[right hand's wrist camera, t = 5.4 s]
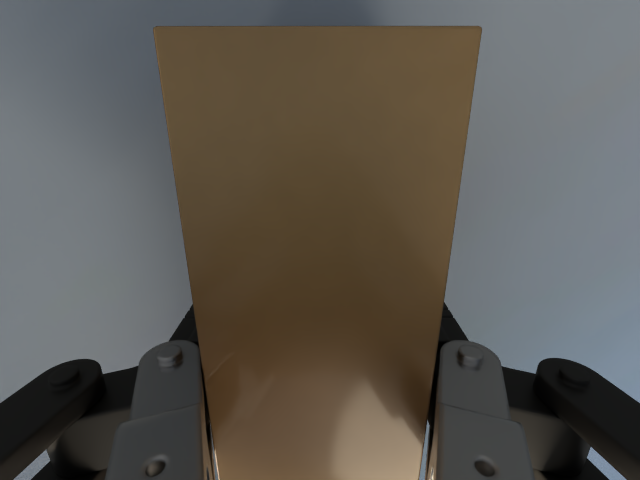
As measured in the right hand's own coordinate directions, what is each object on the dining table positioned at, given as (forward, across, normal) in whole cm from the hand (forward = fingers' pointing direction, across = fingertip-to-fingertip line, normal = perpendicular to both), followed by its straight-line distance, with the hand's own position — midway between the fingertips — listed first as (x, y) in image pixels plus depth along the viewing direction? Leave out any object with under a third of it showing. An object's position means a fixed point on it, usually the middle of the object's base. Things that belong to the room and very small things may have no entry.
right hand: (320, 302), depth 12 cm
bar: (+2, 0, -32) cm, 32 cm away
